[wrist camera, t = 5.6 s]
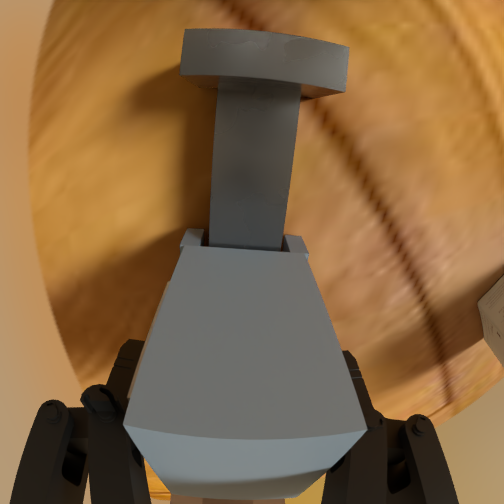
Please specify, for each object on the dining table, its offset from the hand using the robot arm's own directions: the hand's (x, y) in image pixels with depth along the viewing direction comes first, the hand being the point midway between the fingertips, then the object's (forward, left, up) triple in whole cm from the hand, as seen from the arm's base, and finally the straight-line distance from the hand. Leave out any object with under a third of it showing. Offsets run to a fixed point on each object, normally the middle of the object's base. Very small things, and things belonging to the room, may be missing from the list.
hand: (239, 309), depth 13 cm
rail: (+4, 0, -2) cm, 4 cm away
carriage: (0, 0, -2) cm, 2 cm away
